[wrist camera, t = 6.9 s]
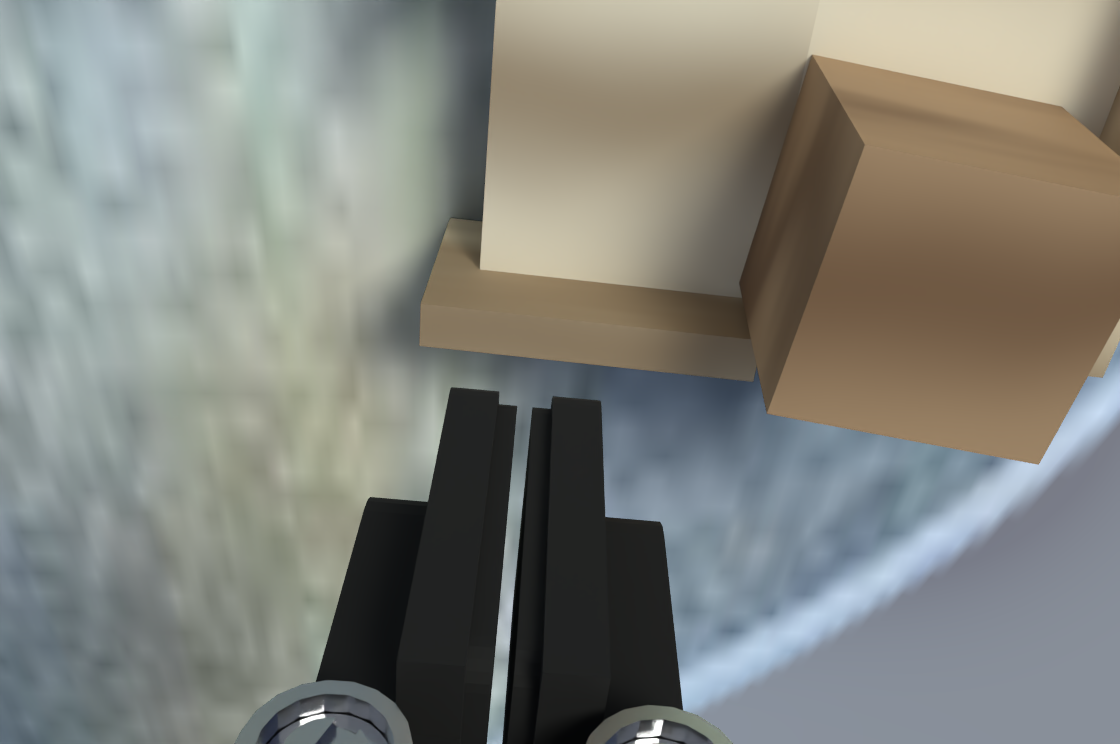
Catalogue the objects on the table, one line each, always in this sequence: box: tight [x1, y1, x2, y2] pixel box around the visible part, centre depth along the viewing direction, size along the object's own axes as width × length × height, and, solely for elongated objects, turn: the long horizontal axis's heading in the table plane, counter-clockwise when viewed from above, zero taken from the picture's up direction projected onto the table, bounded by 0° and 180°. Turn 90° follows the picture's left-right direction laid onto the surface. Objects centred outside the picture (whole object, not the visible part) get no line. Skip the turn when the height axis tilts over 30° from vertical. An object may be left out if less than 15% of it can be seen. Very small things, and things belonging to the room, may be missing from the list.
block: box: [739, 54, 1120, 464], centre depth 19 cm, size 5×5×5 cm
